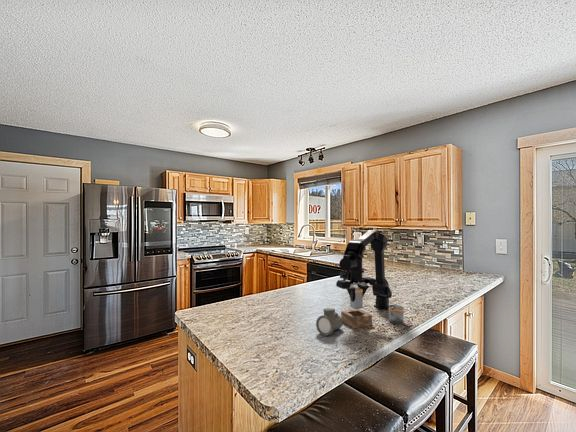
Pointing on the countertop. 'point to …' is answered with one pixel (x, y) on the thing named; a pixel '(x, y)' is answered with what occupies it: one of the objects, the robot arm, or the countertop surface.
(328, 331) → the pipe fitting
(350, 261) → the robot arm
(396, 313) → the cylinder
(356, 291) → the square bit
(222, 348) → the countertop surface
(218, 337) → the countertop surface
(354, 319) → the block
